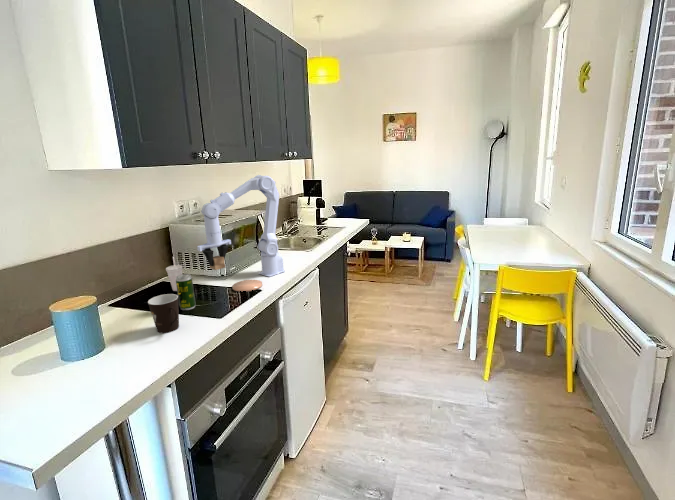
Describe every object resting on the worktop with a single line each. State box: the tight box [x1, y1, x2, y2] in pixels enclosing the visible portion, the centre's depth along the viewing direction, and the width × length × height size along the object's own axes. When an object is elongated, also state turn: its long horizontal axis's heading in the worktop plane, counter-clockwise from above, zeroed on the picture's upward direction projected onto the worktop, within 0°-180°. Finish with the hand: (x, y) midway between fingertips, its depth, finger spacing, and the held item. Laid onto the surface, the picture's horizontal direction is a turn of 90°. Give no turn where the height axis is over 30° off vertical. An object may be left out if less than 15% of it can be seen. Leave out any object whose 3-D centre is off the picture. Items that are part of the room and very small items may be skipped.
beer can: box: [176, 273, 197, 311], centre depth 130 cm, size 5×5×12 cm
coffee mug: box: [147, 293, 180, 334], centre depth 113 cm, size 12×9×10 cm
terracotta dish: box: [231, 279, 263, 293], centre depth 150 cm, size 12×12×1 cm
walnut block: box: [209, 255, 226, 271], centre depth 152 cm, size 4×4×4 cm
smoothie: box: [165, 256, 184, 292], centre depth 149 cm, size 6×6×14 cm
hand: (217, 264), depth 153 cm, fingers closed on walnut block, 4 cm apart
